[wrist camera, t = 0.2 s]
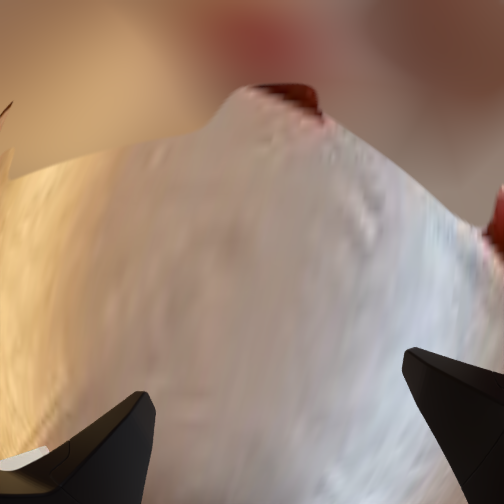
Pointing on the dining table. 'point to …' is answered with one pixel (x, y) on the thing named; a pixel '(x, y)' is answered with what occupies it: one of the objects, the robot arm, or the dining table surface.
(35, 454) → the board
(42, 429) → the dining table surface
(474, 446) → the robot arm
